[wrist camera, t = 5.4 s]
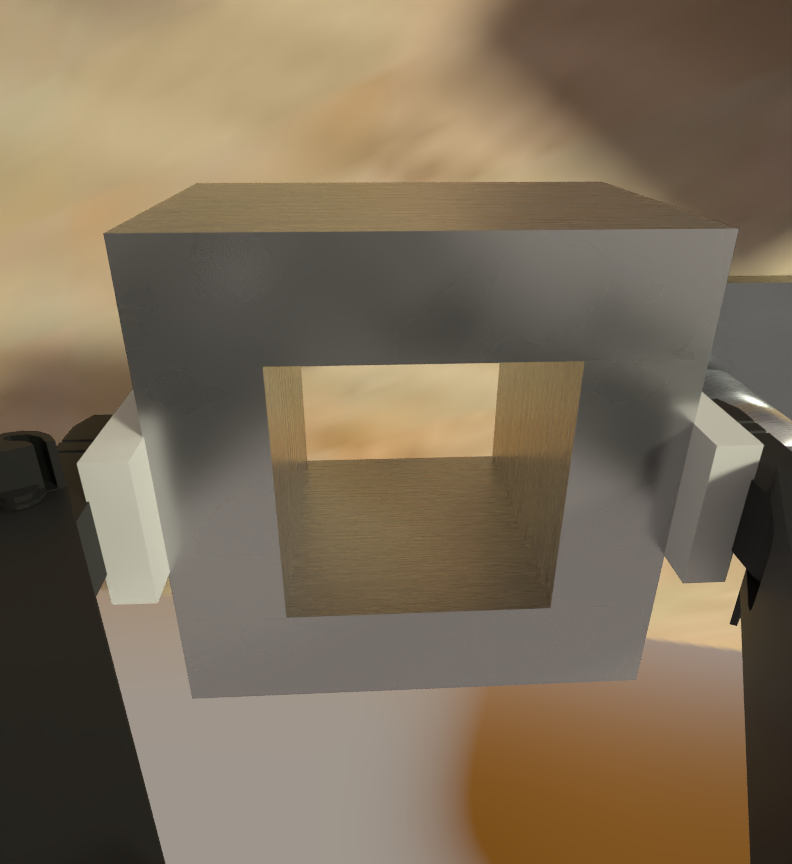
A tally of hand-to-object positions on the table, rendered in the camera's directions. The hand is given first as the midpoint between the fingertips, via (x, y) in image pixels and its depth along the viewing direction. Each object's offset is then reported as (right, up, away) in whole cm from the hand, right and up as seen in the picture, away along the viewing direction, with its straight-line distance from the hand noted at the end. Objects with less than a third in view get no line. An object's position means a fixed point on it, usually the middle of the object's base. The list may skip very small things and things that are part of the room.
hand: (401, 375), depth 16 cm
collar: (0, 0, 0) cm, 0 cm away
